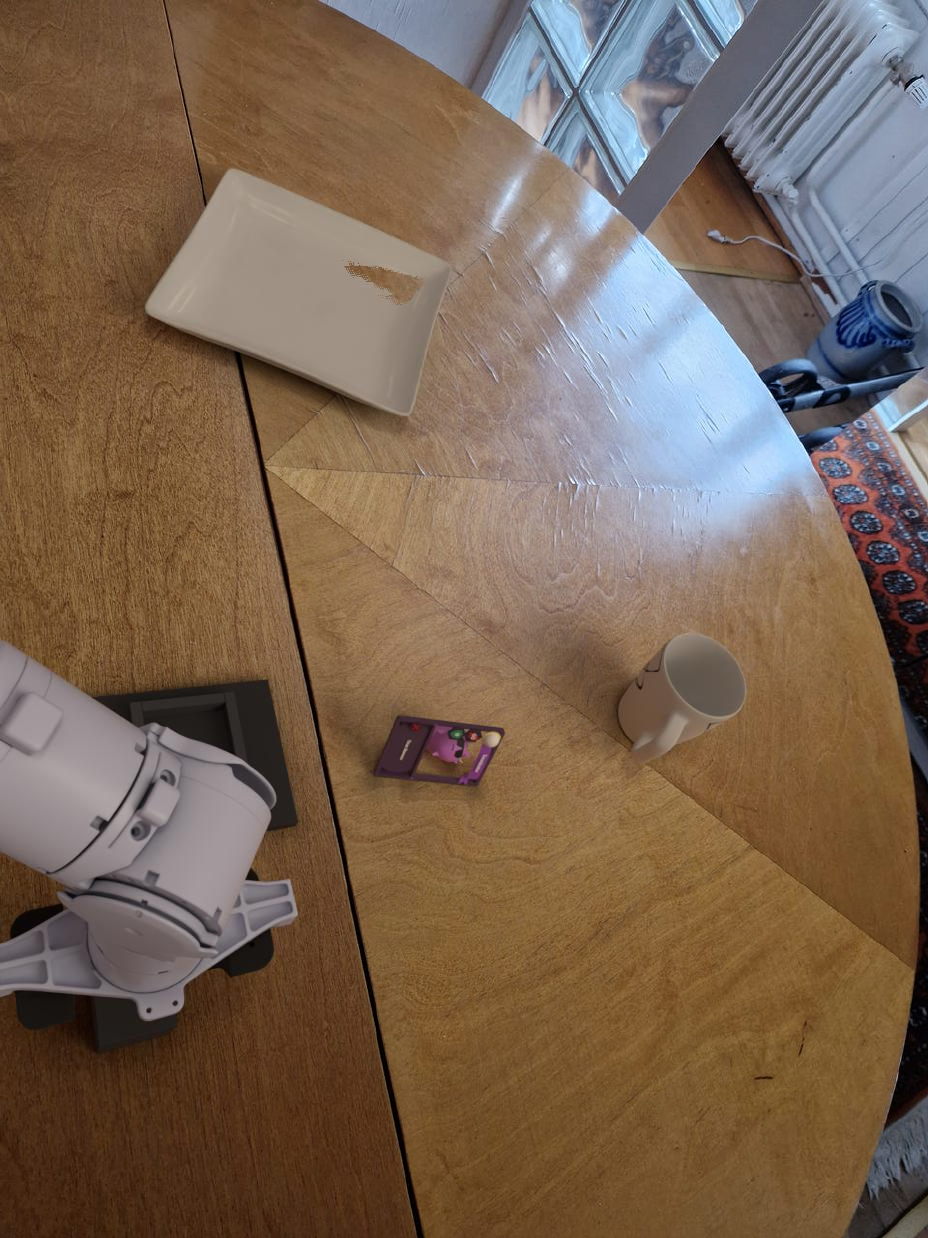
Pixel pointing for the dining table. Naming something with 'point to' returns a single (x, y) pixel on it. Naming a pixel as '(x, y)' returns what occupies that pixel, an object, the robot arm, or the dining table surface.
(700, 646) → the mug
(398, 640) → the dining table surface
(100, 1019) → the small block
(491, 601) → the dining table surface
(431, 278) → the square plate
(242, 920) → the robot arm
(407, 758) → the game card
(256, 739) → the base pad
